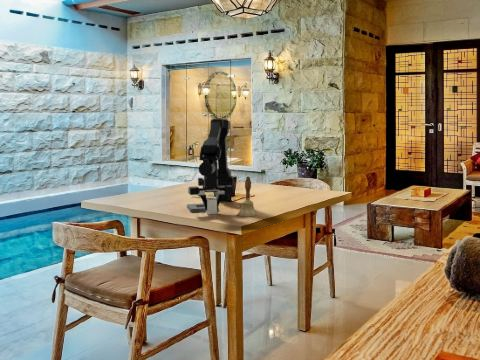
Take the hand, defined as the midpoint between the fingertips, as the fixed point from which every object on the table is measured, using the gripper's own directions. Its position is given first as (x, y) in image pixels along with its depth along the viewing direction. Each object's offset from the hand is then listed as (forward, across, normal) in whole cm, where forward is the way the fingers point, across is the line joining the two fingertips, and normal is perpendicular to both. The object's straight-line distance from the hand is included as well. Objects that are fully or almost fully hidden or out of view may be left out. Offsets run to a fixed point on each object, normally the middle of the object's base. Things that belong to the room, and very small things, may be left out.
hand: (211, 210), depth 220 cm
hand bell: (+2, -14, +7) cm, 16 cm away
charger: (+1, 0, 0) cm, 1 cm away
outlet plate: (+1, +2, -10) cm, 10 cm away
